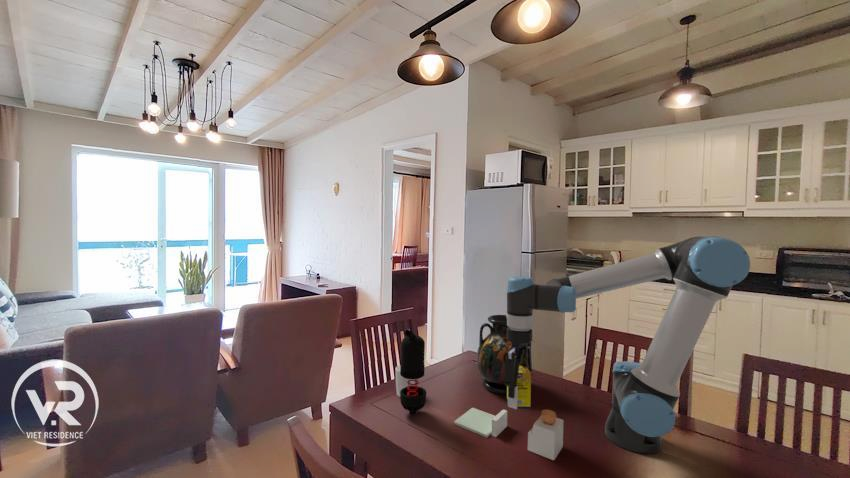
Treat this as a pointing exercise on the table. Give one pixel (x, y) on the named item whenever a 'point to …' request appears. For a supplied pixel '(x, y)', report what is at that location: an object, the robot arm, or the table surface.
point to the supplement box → (523, 388)
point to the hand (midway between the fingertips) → (518, 401)
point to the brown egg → (548, 416)
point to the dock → (536, 435)
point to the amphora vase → (493, 354)
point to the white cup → (401, 381)
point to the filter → (412, 372)
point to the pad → (476, 422)
